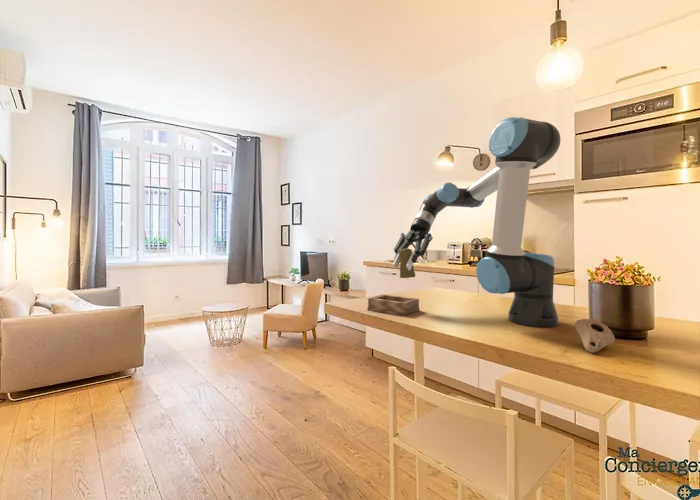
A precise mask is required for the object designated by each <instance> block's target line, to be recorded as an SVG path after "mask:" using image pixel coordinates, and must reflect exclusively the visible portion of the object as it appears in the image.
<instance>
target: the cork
mask: <svg viewBox="0 0 700 500" xmlns="http://www.w3.org/2000/svg"><path fill="white" fill-rule="evenodd" d="M412 253H413V251H412V249H410V248H407V249H401V250H399V256H400V258H401V260H400V263H399V265H400V266H399V268H400V269H399V278H401V279H409V278H414V277H416V272H415V269H414V264H413V265H412V268H411V270H408V269H407V267H406V265H407V262H408V260H409V258H410V256H411V254H412Z"/></svg>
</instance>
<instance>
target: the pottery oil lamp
mask: <svg viewBox="0 0 700 500" xmlns="http://www.w3.org/2000/svg"><path fill="white" fill-rule="evenodd" d="M574 329H575V330H576V331H577V333H578V334H579V337H580V339H581V342H582V345H583V347H584V349H585V351H587V352H589V353H591V354H595V353H598V352H599V351H600V350H602V349H603V348H605V347H606V346H609V345H611V344H613V343H614V342H615V341H616V340H615V339H616V338H615V335H614V333H613V331H612V330H611V329H610V328H609V327H608V325H607V324H604V323H603V322H601V320H600V319H598V318H596V317H593V318H591V319H590V318H584V319H578V320H576V321H575V322H574Z"/></svg>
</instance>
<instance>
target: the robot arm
mask: <svg viewBox="0 0 700 500" xmlns="http://www.w3.org/2000/svg"><path fill="white" fill-rule="evenodd" d="M561 140H562V139H561V135H560V131H559V130H558V129H557V127H556V126H555V125H553V124H552V123H549V122H546V121H540V120H535V119H529V118H526V117H515V116H513V117H511V116H510V117H507V118H505V119H503V120H501V121H500V122H498V124H496V127H494V128H493V130H492V132H491V134H490V137H489V139H488V150H489V151H490V153H491V155H492V156H494V157H495V161H494V165H495V167H494V168H492V169H491V170H490V171H489V172H487V173H486V174H484V175H483V176H482V177H480V178H479V179H478V180H476V181H475V182H473V183H472V184H471V185H469V186H468V187H466V188H459V187H458V186H457V185H456V184H453V183H452V182H445V183H443V185H441V186H439V187H438V188H437V190H435V191H434V192H433V193H430V194H428V195H426V196H425V198H424V199H423V201H422V203H421V205H420V207H419V210H418V212H417V214H416V216H415V217H414V219H413V222H412V224H411V225H410V229H409V230H408V232H407V233H404V232H401V233H400V237H399V239H398V241H397V243H396V245H395V246H394V247H393V252H394V253H395V256H394V258H393V263H392V266H393V268H394V269H395V270H397V269H398V267H399V265H400V260H401V258H400V256H399V250H401V249H409V247H410V246H411V245H413V244H414V243H415V246H414V251H413V252H412V254H411V256H410V258H409V260H408V262H407V265H406V267H407V269H408V270H411V268H412V265H413V266H414V264H415V263H416V262H417V260H418V258H419V257H424V256H425V254H426V252H427V249H428V247H429V245H430V242H431V241H432V240H433V236H432V234H431V233H430V231H431V228H432V226H433V224H434V222H435V220H436V218H437V216H438V214H439V213H440V212H442V211H443V210H444V209H445V208H446V207H455V208H456V207H461V208H480V207H481V206H482V205H483V203H484V202H485V199H486V198H487V197H489V196H491V195H492V194H494V193H495V192H497V193H496V194H497V195H496V201H495V202H496V203H495V211H494V221H493V229H492V238H491V239H492V240H491V245H490V246H489V247H488V248H486V250H485V257H483V258H481V259H480V260H479V262H477V265H476V270H475V272H476V274H475V275H476V277H477V278H476V279H477V282H478V284H480V286H481V288H483V290H485V291H486V292H487V293H489V294H496V295H497V294H499V295H505V294H512V293H513V294H514V296H513V297H514V298H513V299H512V303H511V304H510V307H509V310H508V314H507V317H508V318H507V319H508V321H510V322H512V323H514V324H515V323H516V324H517V325H518V324H519V325H522V326H523V325H524V326H530V327H538V328H539V327H541V328H543V327H544V328H545V327H546V328H548V327H549V328H550V327H551V328H552V327H556V326H558V325H559V315H558V312H557V309H556V306H555V303H554V302H555V301H554V284H555V283H554V281H555V268H556V267H555V260H554V257H553V256H551V255H549V254H543V253H535V252H534V253H533V252H525V251H524V250H523V249H522V241H523V235H524V234H523V233H524V224H525V216H526V209H527V200H528V191H529V183H530V173H531V170H536V169H538V168H540V167H542V166H543V165H545V164H546V163H547V162H548V161H550V160H551V159H552V158H553V157H554V156H555V155H556V153H557V152H558V150H559V148H560V146H561Z"/></svg>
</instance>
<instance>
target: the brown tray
mask: <svg viewBox="0 0 700 500" xmlns="http://www.w3.org/2000/svg"><path fill="white" fill-rule="evenodd" d="M367 305H368V306H367V311H371V312H378V313H383V314H390V315H395V316H403V317H406V316H408V315H411V314H413V313H417V312H418V311H420V299H419V298H414V297H405V296H401V295H400V296H399V295H398V296H397V295H392V294H384V293H383V294H380V295H376V296H372V297H369V298H368V299H367Z"/></svg>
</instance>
